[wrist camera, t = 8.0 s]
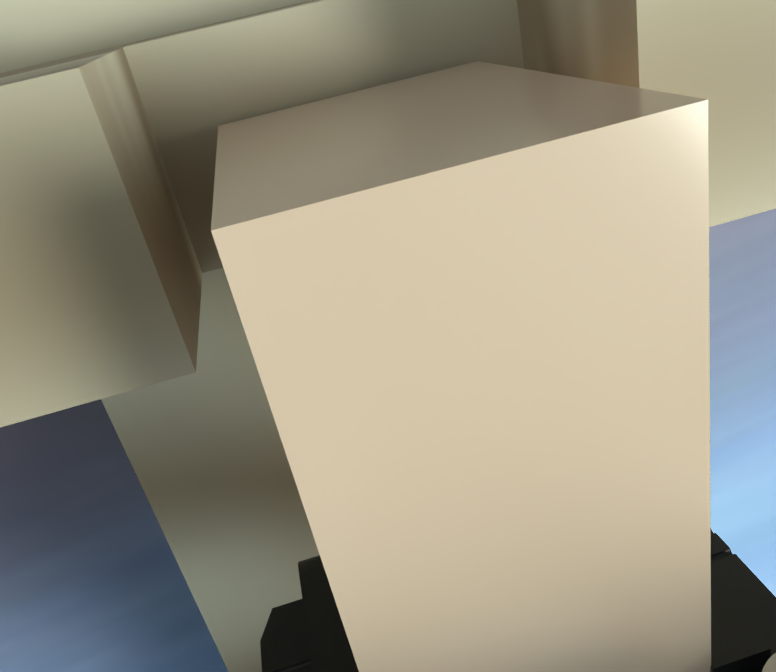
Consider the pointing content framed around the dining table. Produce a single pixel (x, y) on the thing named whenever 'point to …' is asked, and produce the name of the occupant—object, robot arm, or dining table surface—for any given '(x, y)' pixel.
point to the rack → (194, 216)
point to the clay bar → (488, 361)
